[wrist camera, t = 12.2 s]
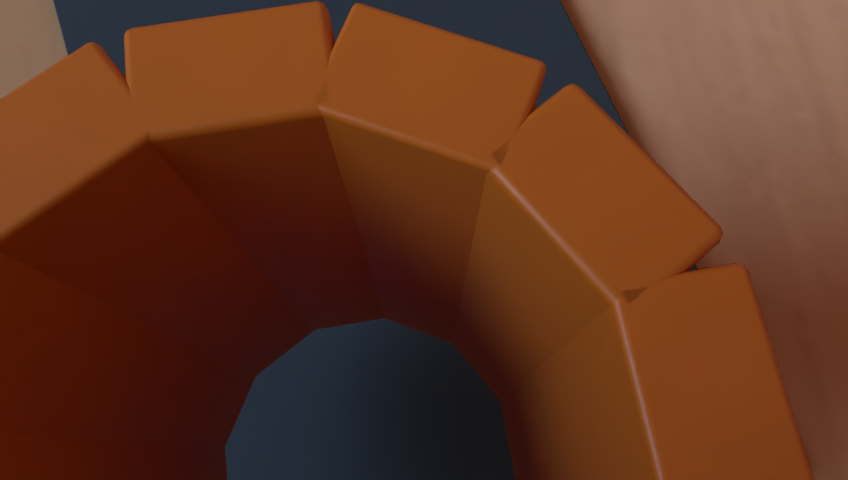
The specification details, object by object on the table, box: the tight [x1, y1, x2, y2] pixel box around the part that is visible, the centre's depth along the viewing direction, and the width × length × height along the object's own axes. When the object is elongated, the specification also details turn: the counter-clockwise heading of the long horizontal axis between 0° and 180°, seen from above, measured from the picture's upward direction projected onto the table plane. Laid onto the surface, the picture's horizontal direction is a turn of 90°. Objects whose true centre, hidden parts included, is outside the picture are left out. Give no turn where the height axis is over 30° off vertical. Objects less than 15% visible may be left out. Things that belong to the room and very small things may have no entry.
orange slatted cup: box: [0, 1, 814, 480], centre depth 8 cm, size 7×7×8 cm
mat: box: [54, 0, 697, 480], centre depth 18 cm, size 12×28×1 cm, turn 21°
